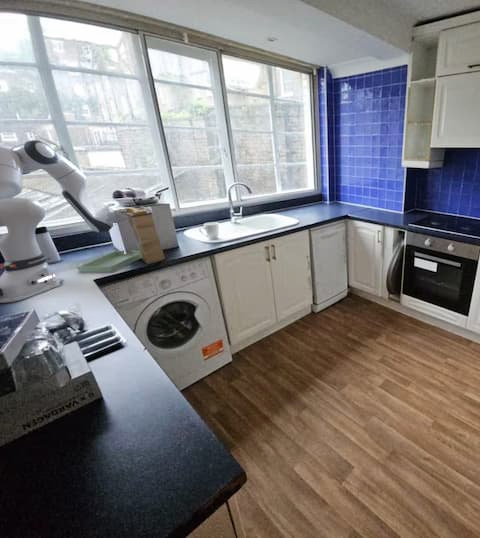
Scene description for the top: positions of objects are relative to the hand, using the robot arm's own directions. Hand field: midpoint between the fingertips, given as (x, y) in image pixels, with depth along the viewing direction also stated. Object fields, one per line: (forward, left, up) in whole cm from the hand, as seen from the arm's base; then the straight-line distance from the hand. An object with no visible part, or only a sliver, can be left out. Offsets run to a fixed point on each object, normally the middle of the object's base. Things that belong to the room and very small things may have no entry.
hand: (131, 208), depth 155 cm
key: (-2, -3, -1) cm, 4 cm away
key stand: (-5, -8, -27) cm, 29 cm away
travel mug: (-8, +47, -27) cm, 55 cm away
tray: (-10, +10, -27) cm, 31 cm away
